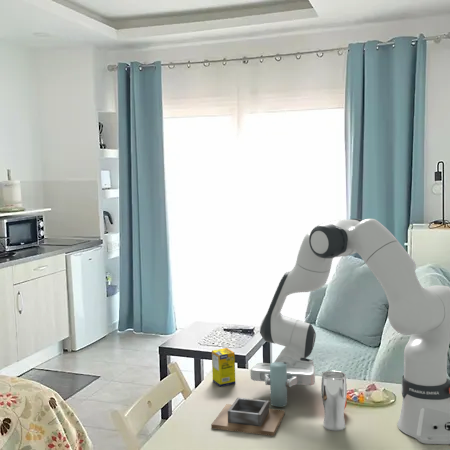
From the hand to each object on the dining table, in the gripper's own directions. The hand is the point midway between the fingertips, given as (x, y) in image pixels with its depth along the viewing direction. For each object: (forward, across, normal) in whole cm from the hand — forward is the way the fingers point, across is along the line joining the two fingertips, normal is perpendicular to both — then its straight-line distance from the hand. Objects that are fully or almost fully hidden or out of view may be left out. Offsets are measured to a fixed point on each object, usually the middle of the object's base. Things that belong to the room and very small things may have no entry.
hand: (277, 383), depth 175 cm
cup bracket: (+11, -6, +8) cm, 15 cm away
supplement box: (-15, -22, +8) cm, 28 cm away
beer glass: (+8, +18, +8) cm, 21 cm away
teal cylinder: (-1, 0, +6) cm, 7 cm away
